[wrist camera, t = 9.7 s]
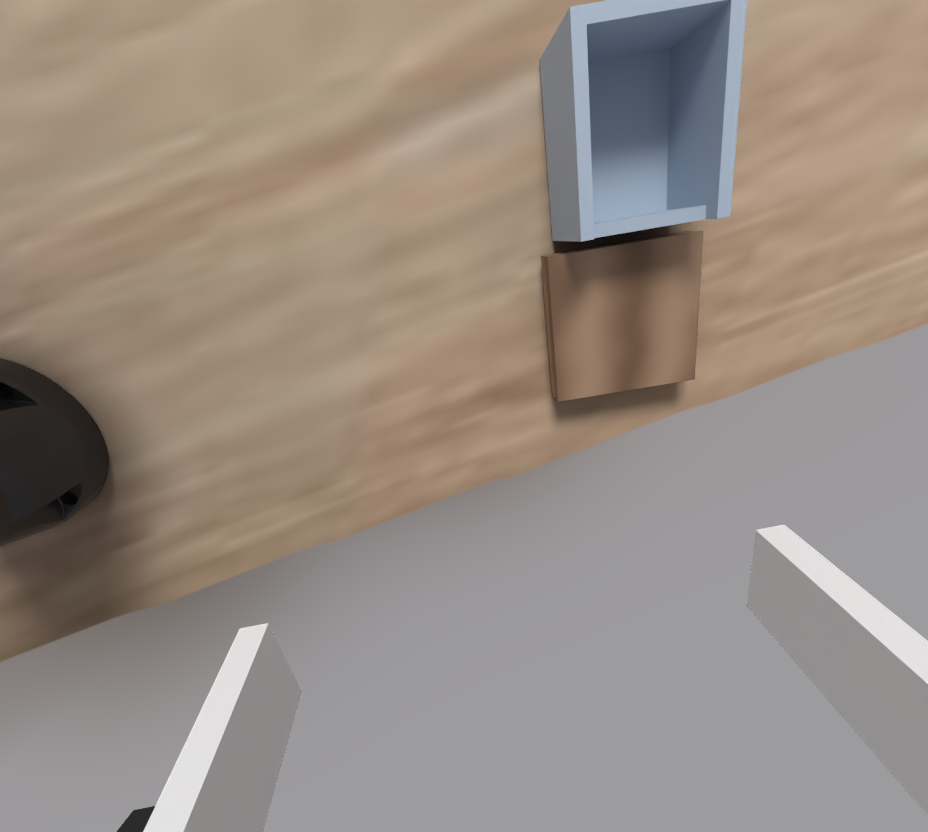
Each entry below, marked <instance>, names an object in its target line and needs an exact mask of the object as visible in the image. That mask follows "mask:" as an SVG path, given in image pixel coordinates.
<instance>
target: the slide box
mask: <svg viewBox="0 0 928 832" xmlns="http://www.w3.org/2000/svg"><path fill="white" fill-rule="evenodd" d="M746 6H747V0H607V1H601V2H595V3H590V4H584V5H578V6H573V7H570V8H569V10H568V11H567V13H566V15H565V17H564V18H563V20H562V22H561V24H560V25H559V27H558V29H557V31H556V32H555V34H554V36H553V38H552V39H551V41H550V43H549V45H548V46H547V48H546V50H545V51H544V53H543V55H542V57H541V58H540V73H541V87H542V102H543V116H544V130H545V144H546V158H547V172H548V186H549V200H550V214H551V228H552V241H577V242H582V241H588V240H594V238H598V237H604V236H610V235H616V234H622V233H628V232H634V231H640V230H645V229H651V228H657V227H663V226H669V225H675V224H681V223H687V222H692V221H698V220H704V219H717V218H723V217H729V216H730V214H731V201H732V188H733V175H734V162H735V149H736V136H737V123H738V110H739V97H740V84H741V71H742V58H743V45H744V32H745V19H746Z"/></svg>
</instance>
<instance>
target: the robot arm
mask: <svg viewBox="0 0 928 832" xmlns="http://www.w3.org/2000/svg"><path fill="white" fill-rule="evenodd" d="M106 474H107V454H106V449H105V445H104V442H103V439H102V437H101V435H100V433H99V430H98V428H97V427H96V425H95V423H94V422H93V420H92V419H91V417H90V416H89V415H88V413H87V412H86V411H85V409H84V408H83V407H82V406H81V405H80V404H79V403H78V402H77V401H76V400H75V399H74V398H73V397H72V396H71V395H70V394H69V393H68V392H66V391H65V390H64V389H63V388H61V387H60V386H59V385H57V384H56V383H55V382H53V381H51V380H50V379H48V378H47V377H45V376H43V375H42V374H40V373H38V372H36V371H34V370H32V369H30V368H27V367H25V366H23V365H20V364H18V363H15V362H12V361H8V360H5V359H1V358H0V546H3V545H5V544H8V543H11V542H14V541H16V540H19V539H22V538H25V537H27V536H30V535H33V534H36V533H38V532H41V531H44V530H47V529H49V528H52V527H54V526H57V525H59V524H60V523H62V522H64V521H66V520H68V519H69V518H71V517H72V516H73V515H75V514H76V513H77V512H79V511H80V510H81V509H83V508H84V507H85V506H86V505H88V504H89V503H90V502H91V501H92V500H93V499H94V498H95V497H96V496H97V495H98V493H99V492H100V490H101V488H102V486H103V484H104V482H105V478H106ZM747 607H748V608H749V609H750V611H751V612H752V613H753V614H754V615H755V616H756V618H757V619H758V620H759V621H760V622H761V623H762V624H763V626H764V627H765V628H766V629H767V630H768V631H769V633H770V634H771V635H772V636H773V637H774V638H775V639H776V641H777V642H778V643H779V644H780V645H781V647H782V648H783V649H784V650H785V651H786V652H787V654H788V655H789V656H790V657H791V658H792V659H793V660H794V662H795V663H796V664H797V665H798V666H799V667H800V668H801V670H802V671H803V672H804V673H805V674H806V676H807V677H808V678H809V679H810V680H811V681H812V682H813V684H814V685H815V686H816V687H817V688H818V689H819V690H820V692H821V693H822V694H823V695H824V696H825V698H826V699H827V700H828V701H829V702H830V703H831V704H832V706H833V707H834V708H835V709H836V710H837V711H838V713H839V714H840V715H841V716H842V717H843V718H844V720H845V721H846V722H847V723H848V724H849V725H850V727H851V728H852V729H853V730H854V731H855V732H856V733H857V735H858V736H859V737H860V738H861V739H862V741H864V743H865V744H866V745H867V746H868V747H869V749H870V750H871V751H872V752H873V753H874V754H875V756H876V757H877V758H878V759H879V760H880V761H881V763H882V764H883V765H884V766H885V767H886V768H887V769H888V771H889V772H890V773H891V774H892V775H893V776H894V778H895V779H896V780H897V781H898V782H899V783H900V785H901V786H902V787H903V788H904V789H905V790H906V791H907V793H908V794H909V795H910V796H911V797H912V798H913V800H914V801H915V802H916V803H917V804H918V805H919V807H920V808H921V809H922V810H923V811H924V812H925V813H926V814H927V816H928V641H927V640H926V639H925V638H923V637H922V636H921V635H920V634H918V633H917V632H916V631H915V630H913V629H912V628H911V627H910V626H908V625H907V624H906V623H905V622H904V621H902V620H901V619H900V618H899V617H897V616H896V615H895V614H894V613H892V612H891V611H890V610H889V609H888V608H886V607H885V606H884V605H883V604H881V603H880V602H879V601H878V600H876V599H875V598H874V597H873V596H871V595H870V594H869V593H868V592H867V591H865V590H864V589H863V588H862V587H860V586H859V585H858V584H856V583H855V582H854V581H853V580H852V579H850V578H849V577H848V576H847V575H846V574H844V573H843V572H842V571H841V570H839V569H838V568H837V567H836V566H834V565H833V564H832V563H831V562H829V561H828V560H827V559H826V558H825V557H823V556H822V555H821V554H820V553H818V552H817V551H816V550H815V549H813V548H812V547H811V546H810V545H808V544H807V543H806V542H805V541H804V540H802V539H801V538H800V537H799V536H797V535H796V534H795V533H794V532H793V531H791V530H790V529H789V528H788V527H786V526H785V525H780V526H775V527H769V528H764V529H759V530H756V533H755V541H754V549H753V557H752V565H751V573H750V582H749V589H748V597H747ZM300 695H301V689H300V687H299V685H298V683H297V681H296V679H295V677H294V675H293V673H292V671H291V668H290V667H289V665H288V662H287V660H286V658H285V656H284V654H283V652H282V650H281V648H280V646H279V644H278V642H277V640H276V637H275V636H274V633H273V631H272V629H271V627H270V625H269V623H267V624H262V625H256V626H251V627H246V628H240V629H239V631H238V634H237V636H236V638H235V640H234V642H233V644H232V646H231V648H230V650H229V653H228V655H227V657H226V659H225V661H224V663H223V665H222V667H221V669H220V671H219V674H218V676H217V678H216V680H215V682H214V684H213V686H212V688H211V690H210V692H209V695H208V697H207V699H206V701H205V703H204V705H203V707H202V709H201V712H200V713H199V716H198V718H197V720H196V722H195V724H194V726H193V728H192V730H191V732H190V734H189V737H188V739H187V741H186V743H185V745H184V747H183V749H182V751H181V753H180V756H179V758H178V760H177V762H176V764H175V766H174V768H173V770H172V772H171V775H170V777H169V779H168V781H167V783H166V785H165V787H164V789H163V791H162V793H161V796H160V798H159V800H158V802H157V804H156V806H153V807H148V808H143V809H138V810H134V811H133V812H132V813H131V814H130V815H129V817H128V818H127V819H126V821H125V822H124V823H123V824H122V826H121V827H120V828H119V829H118V831H117V832H263V830H264V826H265V823H266V819H267V815H268V812H269V808H270V804H271V801H272V797H273V793H274V790H275V786H276V783H277V779H278V775H279V771H280V768H281V764H282V761H283V757H284V753H285V750H286V746H287V743H288V739H289V735H290V732H291V728H292V724H293V721H294V717H295V713H296V710H297V706H298V703H299V699H300Z"/></svg>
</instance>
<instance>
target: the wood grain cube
mask: <svg viewBox="0 0 928 832" xmlns="http://www.w3.org/2000/svg"><path fill="white" fill-rule="evenodd" d="M702 242H703V231H687V232H681V233H675V234H669V235H663V236H657V237H651V238H645V239H639V240H633V241H627V242H621V243H615V244H609V245H603V246H597V247H591V248H585V249H579V250H573V251H567V252H561V253H555V254H549V255H543V256H541V260H542V273H543V285H544V298H545V310H546V323H547V336H548V348H549V361H550V374H551V386H552V394H553V395H554V397H555V398H556V400H557V401H558V402H560V401H566V400H572V399H578V398H585V397H591V396H597V395H603V394H609V393H615V392H621V391H627V390H633V389H639V388H645V387H651V386H657V385H664V384H670V383H676V382H682V381H688V380H694V379H695V364H696V346H697V329H698V312H699V294H700V277H701V259H702Z"/></svg>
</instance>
